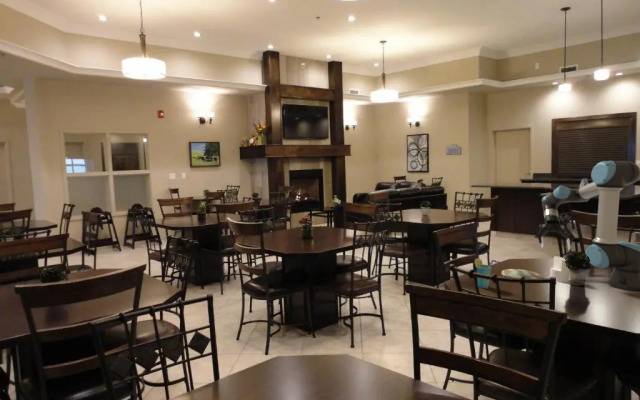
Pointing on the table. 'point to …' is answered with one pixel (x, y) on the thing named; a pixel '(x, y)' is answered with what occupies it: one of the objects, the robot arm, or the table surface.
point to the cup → (483, 272)
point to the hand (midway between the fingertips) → (556, 248)
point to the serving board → (520, 274)
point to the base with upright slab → (560, 270)
